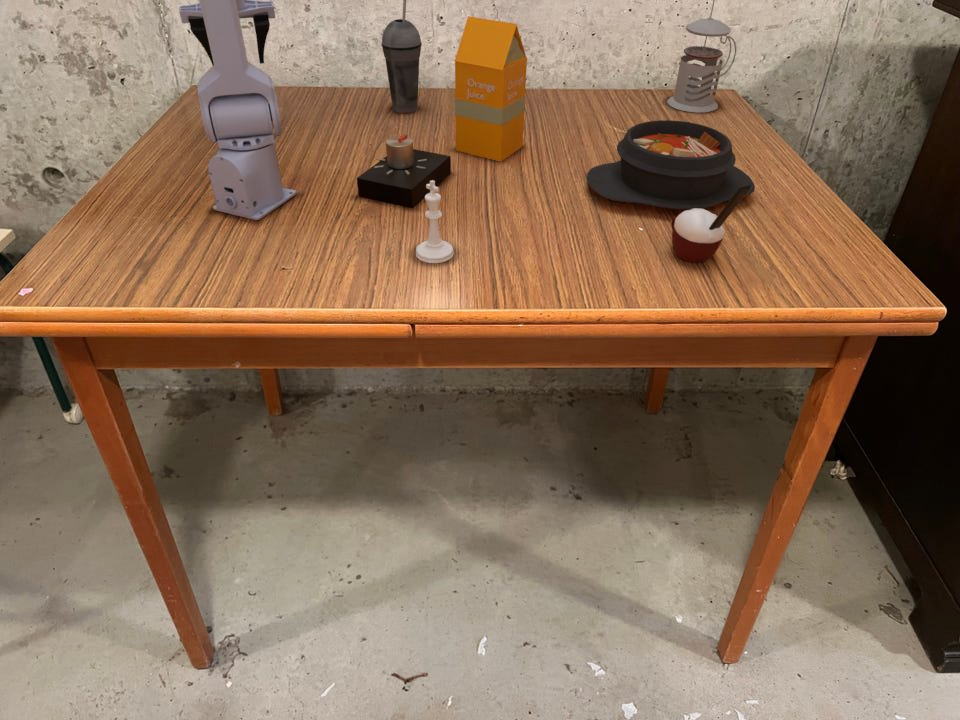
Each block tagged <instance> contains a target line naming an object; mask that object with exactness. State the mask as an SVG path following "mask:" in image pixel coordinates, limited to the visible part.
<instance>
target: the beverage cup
mask: <svg viewBox="0 0 960 720" xmlns="http://www.w3.org/2000/svg"><path fill="white" fill-rule="evenodd" d="M406 10H407V0H403V2H402V18H397V19H394V20H392V21H390V22H389V23H388V24H387V25H386V27H385V28H384V30H383V31H382V32H383V33H382V36H381V37H382V38H381V44H380V45H381V47H382V52H383V56H384V58H385V59H384V60H385V66H386V73H387V79H388V87H389V93H390V99H391V103H392V109H393V111H394V112H396V113H399V114H410V113H413V112H415V111H417V109H418V101H419V79H420V78H419V77H420V57H421V53H422V45H423V43H422V39H421V35H420V33H419V30H418V29H417V27H416V26H415V24H414V23H412V22H411V21H410V20H407V19H406V14H407V13H406V12H407V11H406Z"/></svg>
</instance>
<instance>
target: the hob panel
mask: <svg viewBox="0 0 960 720" xmlns="http://www.w3.org/2000/svg"><path fill="white" fill-rule="evenodd" d="M413 151H414V165H413V166H412V167H410V168H406V169H394V168H391V167H389V166H388V164H387V155H385V156H384V157H383V158H380V157H379V158H378V157H377V158H376V161H377V162H376V163H375V164H373V165H372V166H371V167H370V168H369V169H367V170H365V171H364V172H363V173H361V174H360V175H359V176H357V177H356V184H357V185H356V186H357V194H358V195H357V196H358V198H362V199H367V200H372V201H375V202H380V203H385V204H389V205H395V206H399V207H404V208H408V209H414V208H415V207H416V206H417V205H418V204H419V203H420V202H422V201H423V200H425V195H426V194H428V193H430V189H427V188H426V185H427V184H430V181H431V180H433V181H435V186H436V187H438V186H439V185H441V184H442V183H443V182H444V181H445V180H446V179H448V177H450V176H451V175H452V165H451V164H452V163H451V162H452V161H451V159H452V158H451V155H448V154H447V155H446V154H442V153H436V152H431V151H425V150H421V149H417V148H416V149H415V148H413Z"/></svg>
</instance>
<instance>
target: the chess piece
mask: <svg viewBox="0 0 960 720" xmlns="http://www.w3.org/2000/svg"><path fill="white" fill-rule="evenodd" d="M426 188H427V189H430V193H428V194H426V195H425V198H424V200H425V203H426V205H427V208H428V210H426V211H425V213H424V217H425V218H426V219H429V225H428V234H427V235H428V236H427V239H426V240H424V241H421V242H420V243H419V244H418V245H416V250H415V256H416V258H417V259H418V260H419V261H420V262H423V263H428V264H441V263H445V262H447V261H450V260H451V259H452V258H453V257H454V254H455V251H454V247H453V245H452V244H451V243H450V242H448V241H446V240H443V239H442V238H441V233H440V228H439V218H440V219H441V217H442V216H443V213H442V211H441V210H440V209H439V207H440V202H441V200H442V195H441V194H440V193H438V192H439V191H440V187H438V186H437V187H436V186H435V181H433V180H431V181H430V184H427V185H426Z"/></svg>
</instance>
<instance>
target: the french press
mask: <svg viewBox="0 0 960 720" xmlns="http://www.w3.org/2000/svg"><path fill="white" fill-rule="evenodd" d="M715 1H716V0H713V1H712V5H711V10H710V15H709V17H707V18H699V19H696V20H693V21H691V22H690V23H688V24H686V25H685V30H686V31H687V32H688V33H689V34H693V35H694V36H700V37H705V40H704V45H701V46H700V45H693V46H687V47H686V48H684V49H683V54H684V55H682V56H680V61H679V66H678V71H677V76H676V82H675V87H674V92H673V95H672V96H670V97H669V98H668V99H667V101H666V102H667V104H668V105H669V106H670V107H672V108H674V109H676V110H678V111H679V110H680V111H683V112H688V113H689V112H690V113H709V112H714V111H716V110H718V108H719V104H718V102H717V101H716V100H715V98H716V93H717V89H718V84H719V79H720V78H721V77H723V76H724V75H726V74H727V73H728V72H729V70H731V68H732V66H733V64H734V62H735V58H736V55H737V43H736V41H735V39H734V37H731V35H730V33H731V30H732V29H731V28H730V27H729V26H728V25H727V24H726V23H724V22H723V21H721V20H718V19H715V18H713V17H712V14H713V10H714V6H715ZM708 37H711V38H713V37H714V38H717V37H719V38H720V39H719V42H720V43H721V44H723V45H726V43H727V40H728V42H729V52H728V56H727V59H726V61H725V63H724V65H723V60H722V59H720V58H722V57H723V55H724V52H723V51H722V50H721V49H720V48H715V47H711V46H706V44H707V39H708ZM723 37H726V38H725V39H724V41H722V40H723ZM732 43H733V45H734V54H733V58H732V61H731V63H730V65H729V66H728V68H727V70H725V71H724V72H722V70H723V69H724V68H725V67H726V65H727V64H728V62H729V60H730V57H731V53H732ZM718 60H719V63H718ZM692 61H699V62H700V63H701V62H702V63H703V64H704V65H701V64H699V63H695V62H693V63H688V62H692ZM699 78H701V79H699ZM712 87H713V88H712ZM711 93H712V94H711Z"/></svg>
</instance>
